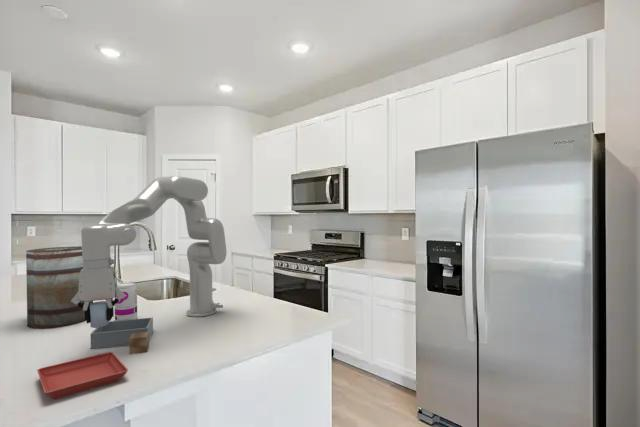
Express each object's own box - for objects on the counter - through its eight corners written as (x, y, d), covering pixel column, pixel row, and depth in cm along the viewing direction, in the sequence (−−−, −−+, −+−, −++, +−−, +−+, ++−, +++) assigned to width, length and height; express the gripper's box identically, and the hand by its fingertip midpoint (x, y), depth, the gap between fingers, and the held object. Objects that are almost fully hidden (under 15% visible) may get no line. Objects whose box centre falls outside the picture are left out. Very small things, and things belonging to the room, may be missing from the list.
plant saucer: (112, 361, 109) (112, 350, 109) (129, 381, 96) (129, 369, 96) (36, 381, 97) (36, 368, 97) (44, 407, 84) (44, 393, 84)
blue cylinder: (110, 321, 117) (109, 300, 117) (106, 326, 112) (105, 304, 112) (93, 323, 115) (92, 302, 115) (88, 328, 111) (87, 306, 110)
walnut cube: (148, 346, 120) (148, 331, 120) (146, 352, 115) (146, 336, 115) (132, 348, 118) (132, 333, 118) (129, 354, 114) (129, 338, 114)
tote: (153, 330, 136) (152, 317, 136) (147, 342, 123) (147, 328, 123) (101, 335, 131) (101, 322, 131) (90, 348, 118) (90, 333, 118)
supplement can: (127, 323, 145) (127, 286, 145) (110, 322, 146) (109, 286, 146) (141, 317, 153) (141, 282, 153) (124, 316, 154) (124, 282, 154)
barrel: (105, 314, 158) (104, 246, 158) (57, 331, 136) (56, 252, 136) (65, 311, 164) (64, 246, 164) (12, 326, 142) (11, 251, 142)
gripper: (129, 260, 119) (131, 314, 120) (69, 264, 114) (72, 320, 115) (124, 264, 112) (127, 321, 113) (60, 268, 107) (64, 328, 108)
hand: (99, 320), depth 114 cm, fingers closed on blue cylinder, 5 cm apart
